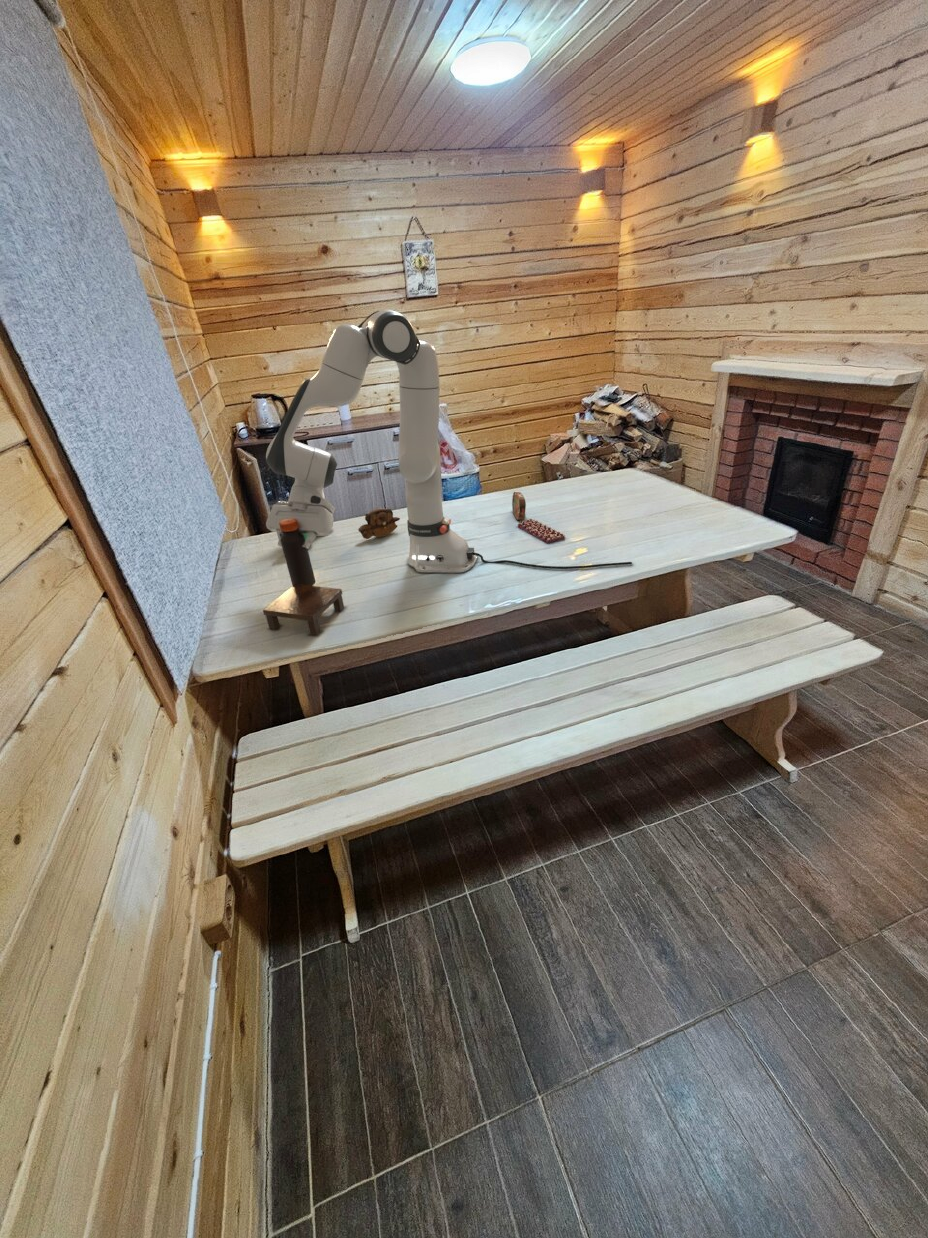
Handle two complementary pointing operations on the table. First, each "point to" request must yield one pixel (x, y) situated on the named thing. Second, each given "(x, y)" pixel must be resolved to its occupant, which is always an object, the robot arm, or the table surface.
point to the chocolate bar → (541, 531)
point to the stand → (304, 605)
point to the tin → (518, 505)
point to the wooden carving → (378, 523)
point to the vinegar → (296, 553)
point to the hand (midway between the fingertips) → (293, 547)
